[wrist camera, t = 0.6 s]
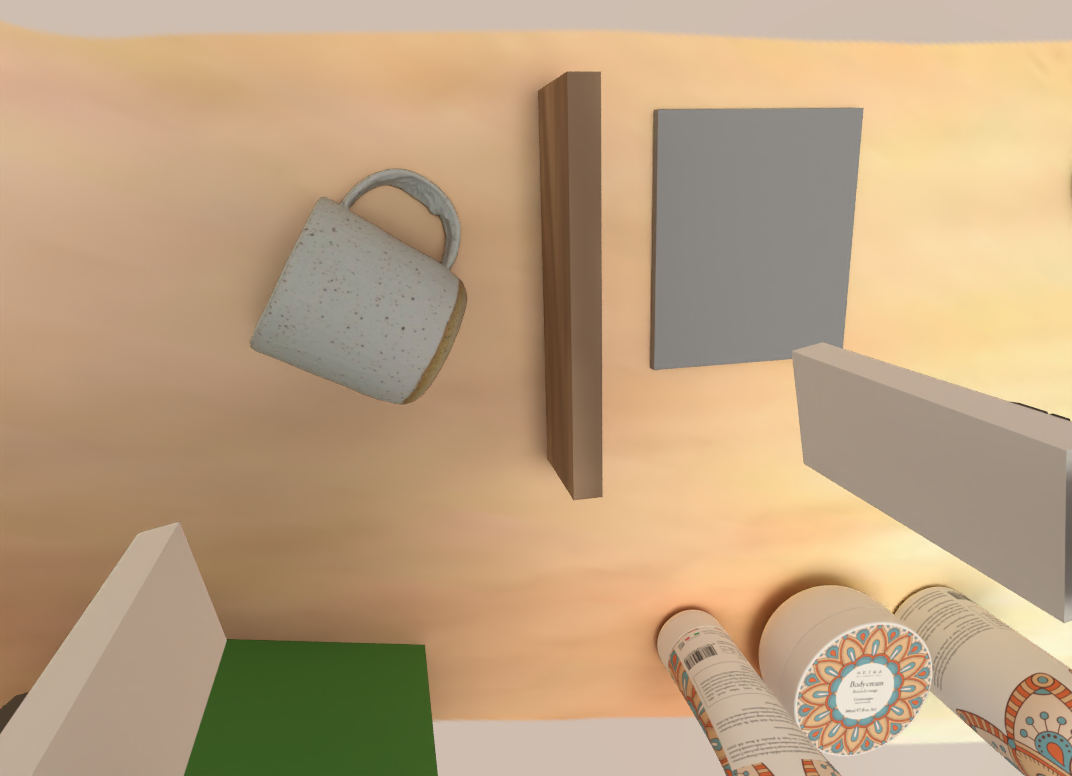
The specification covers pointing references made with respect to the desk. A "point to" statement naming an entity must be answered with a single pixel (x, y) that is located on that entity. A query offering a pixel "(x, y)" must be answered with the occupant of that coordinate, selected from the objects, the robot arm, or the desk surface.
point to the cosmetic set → (867, 681)
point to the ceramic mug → (367, 298)
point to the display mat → (750, 232)
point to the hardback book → (317, 711)
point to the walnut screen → (572, 277)
